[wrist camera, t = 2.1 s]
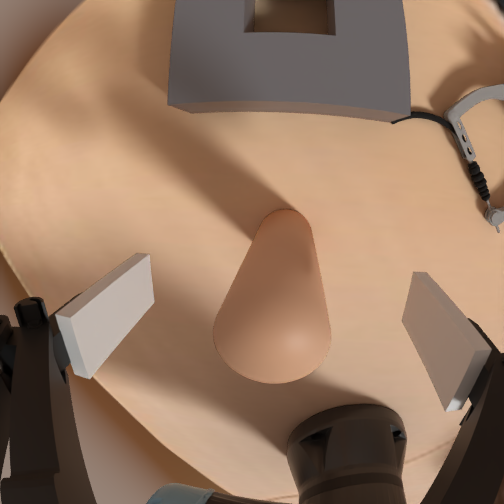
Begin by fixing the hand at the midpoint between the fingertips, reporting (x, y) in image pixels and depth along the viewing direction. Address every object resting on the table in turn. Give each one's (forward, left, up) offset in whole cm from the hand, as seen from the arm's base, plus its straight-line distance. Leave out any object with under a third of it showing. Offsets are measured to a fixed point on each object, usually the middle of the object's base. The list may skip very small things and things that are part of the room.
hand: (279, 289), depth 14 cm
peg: (0, 0, -11) cm, 11 cm away
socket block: (+18, 0, -11) cm, 21 cm away
